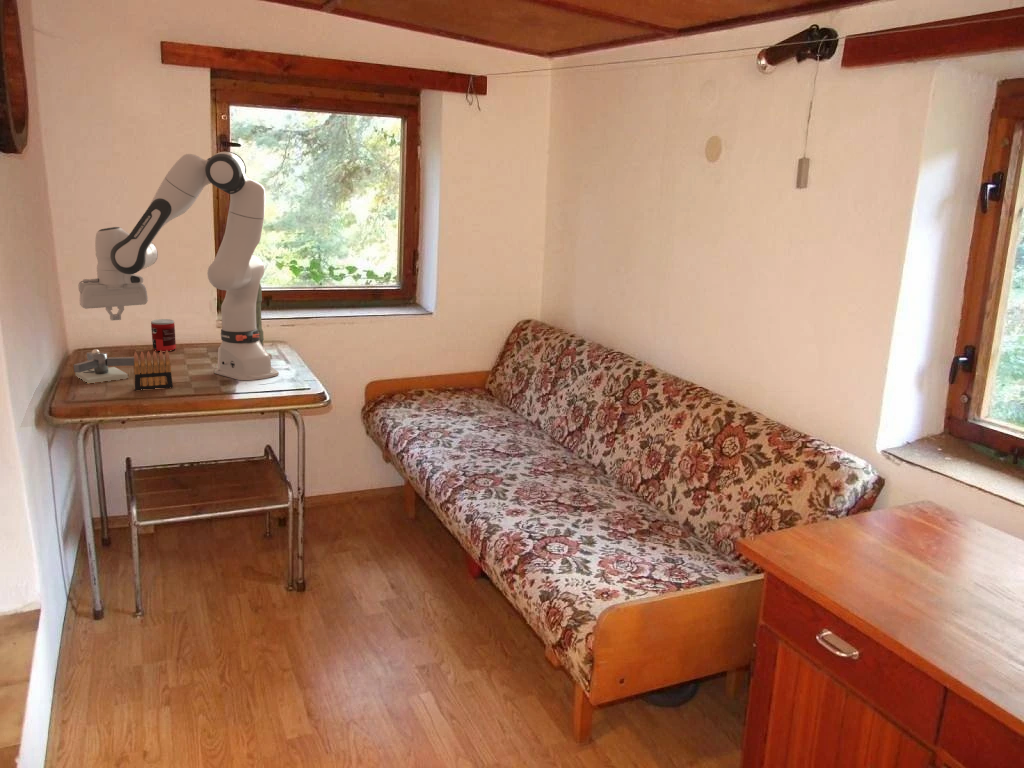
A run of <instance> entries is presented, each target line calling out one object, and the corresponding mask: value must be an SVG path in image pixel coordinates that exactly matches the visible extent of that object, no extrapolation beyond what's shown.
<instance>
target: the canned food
mask: <svg viewBox="0 0 1024 768" xmlns="http://www.w3.org/2000/svg"><path fill="white" fill-rule="evenodd" d="M175 326H176V325H175V320H173V319H168V318H161V319H153V320H150V327H151V329H150V331H151V341H152V349H154V350H156V351H160V350H161V351H166V350H168V351H170V350H174V349H175V350H176V349H177V341H176V329H175ZM154 350H153V351H154ZM156 351H155V352H156Z"/></svg>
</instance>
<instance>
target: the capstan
mask: <svg viewBox="0 0 1024 768" xmlns="http://www.w3.org/2000/svg"><path fill="white" fill-rule="evenodd" d="M86 356H87V357H86V358H87V360H85V361H81V362H78V363H74V364H73V372H74V373H75V372H78V373H80V372H83V371H87V370H94V372H95V373H97V374H103V373H108V368H109V367H122V366H123V367H128V366H129V367H131V366H132V367H134V356H121V357H120V356H117V357H113V356H112V357H110V356H109V357H108V353H107V352H100V350H99V349H97V348H95V349H93V350H91V351H89V352H86Z"/></svg>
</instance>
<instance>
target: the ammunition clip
mask: <svg viewBox="0 0 1024 768" xmlns="http://www.w3.org/2000/svg"><path fill="white" fill-rule="evenodd" d="M163 353H165V354H163ZM133 355H134V356H133V357H134V366H133V374H134V375H133V376H134V390H140V391H144V390H143V389H153V390H156V389H155V388H165V389H173V388H174V386H173V378H172V376H173V375H172V367H171V366H172V364H171V359H170V352H168V350H166V352H162V351H161V350H160V352H158V354H157V352H156V351H154V350H153V354H152V356H151V353H150V351H149V350H148V351H147V353H146V359H145V354H144V352H143V351H141V352H140V356H138V353H137V351H134V353H133ZM157 355H159V356H157ZM164 356H165V357H164ZM139 357H140V358H139ZM164 358H165V359H164ZM139 360H140V361H139ZM139 363H140V364H139ZM170 387H171V388H170ZM172 387H173V388H172ZM141 389H142V390H141Z"/></svg>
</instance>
